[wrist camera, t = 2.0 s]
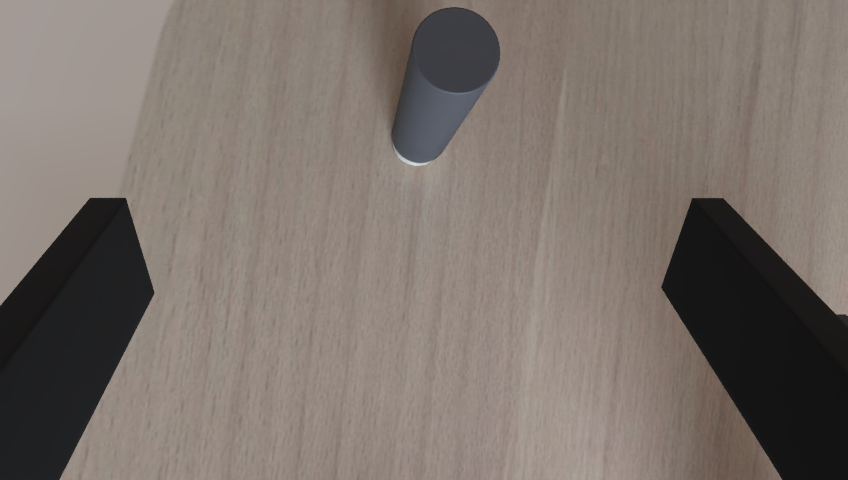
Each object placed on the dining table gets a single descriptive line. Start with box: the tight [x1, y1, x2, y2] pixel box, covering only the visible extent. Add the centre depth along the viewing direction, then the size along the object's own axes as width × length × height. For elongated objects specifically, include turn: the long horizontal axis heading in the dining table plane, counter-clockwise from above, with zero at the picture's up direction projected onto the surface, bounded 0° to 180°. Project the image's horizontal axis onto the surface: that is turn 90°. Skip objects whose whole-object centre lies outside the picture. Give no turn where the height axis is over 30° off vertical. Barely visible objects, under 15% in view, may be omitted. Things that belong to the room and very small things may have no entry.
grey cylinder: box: [392, 7, 500, 166], centre depth 24 cm, size 3×3×12 cm
